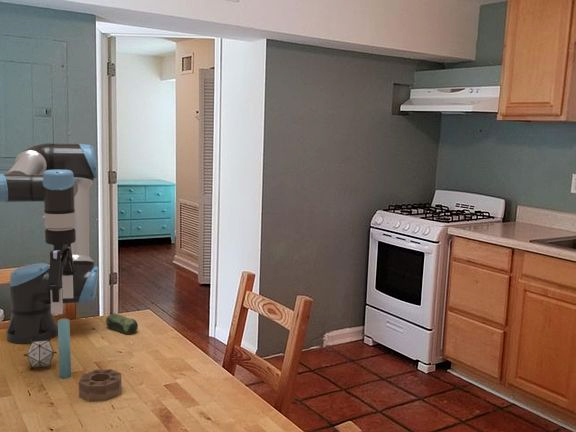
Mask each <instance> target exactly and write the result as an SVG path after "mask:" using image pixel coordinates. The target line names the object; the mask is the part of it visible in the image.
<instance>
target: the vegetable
mask: <svg viewBox="0 0 576 432" xmlns="http://www.w3.org/2000/svg"><path fill="white" fill-rule="evenodd" d="M138 324H139V323H138V322H137V320H136V319H134V318H129V317H127V316H123V315H120V314H117V313H110V314H109V315H108V316H107V318H106V320H105V325H106V326H107V327H108V328H109V329H112V330H115V331H117V332H121V333H124V334H126V335H131V334H133V333H136V331H137V330H138V327H139V325H138Z"/></svg>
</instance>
